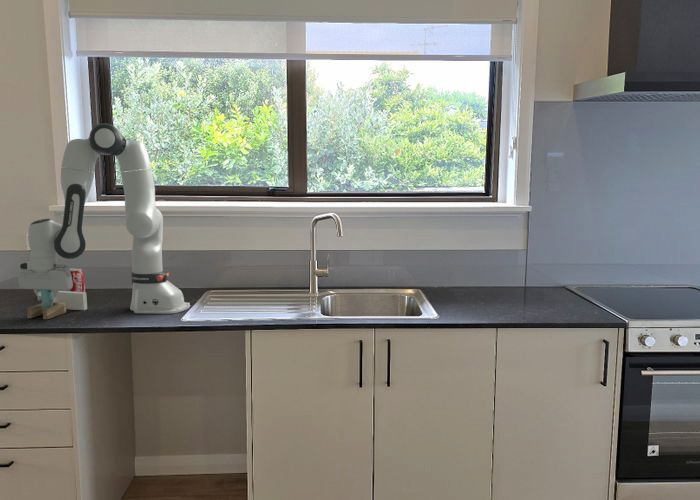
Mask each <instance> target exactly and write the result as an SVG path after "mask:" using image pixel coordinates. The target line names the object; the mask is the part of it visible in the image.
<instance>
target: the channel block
mask: <svg viewBox="0 0 700 500" xmlns="http://www.w3.org/2000/svg"><path fill="white" fill-rule="evenodd" d="M66 313H67V309H66V303H57V302H53V306H51V307H48V308H45V309H43V312H42V302H41V303H38V304H36V305H33V306H30V307H27V308H26V318H28V319H33V318H36V317H39V316H42V318H43V319H42V320H50V319H52V318H56V317H57V316H60V315H63V314H66Z"/></svg>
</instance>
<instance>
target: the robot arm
mask: <svg viewBox="0 0 700 500" xmlns="http://www.w3.org/2000/svg"><path fill="white" fill-rule="evenodd" d="M103 156H114V157H116V159H117V161H118V165H119V170H120V171H119V172H120V175H121V182H122V187H123V194H124V208H125V209H124V210H125V226H126V230H127V231H128V232H129V234H130V235H132V245H131V246H132V248H131V268H132V272H131V284H132V293H131V294H132V295H131V303H130V307H129V310H130V311H132V312H133V313H134V314H164V315H165V314H169V315H170V314H171V315H172V314H173V315H174V314H177V313H181V312H183V311H186V310H188V309H189V308H190V307H191V304H190V302H185V297H184V294H183V292H182V290H181V289H180V288H178V287H176V285H174V284H173V283H171V281H169V280H168V277H169V276H170V275H169V274H170V273H169V272H167V273H166V272H165V271H164V267H163V240H164V239H163V237H164V233H163V232H164V217H163V214H162V212H161V210H160V209H158V208H157V207H156V186H155V182H154V181H155V180H154V175H153V170H152V165H151V164H152V163H151V160H150V157H149V153H148V151H147V148H146V145H145V144H144V143H143V142H141V141H139V140H136V139H132V140H131V139H130V140H128V139H126V137H124V135H123V134H122V133H121V131H120V130H119V128H118V127H116V126H115V125H112V124H110V123H107V122H105V123H103V122H102V123H98V124H97V125H95V126H94V127H92V129H91V130H90V133H89V136H88V138H84V139H83V138H73V139H71V140H69V141H68V143H67V144H66V146H65V149H64V153H63V157H62V160H61V168H60V184H61V189H62V190H61V191H62V193H63V198H64V208H63V209H64V210H63V217H62V224H61V223H59V222H57V221H54V220H53V219H52V218H43V219H42V218H41V219H37V220H34V221H33V222H31V223H30V224H29V225H28V234H27V235H28V236H27V237H28V239H27V240H28V247H29V249H30V253H29V259H28V260H27V261H23V262H20V263H18V264H17V268H18V274H17V280H18V281H17V282H18V286H19V288H20V289H25V290H27V289H28V290H33V292H34V294H35V296H37V301H38V302H42V299H41V289H45V290H51V291H52V293H53V295H52V297H50V302H55V301H56V296H57V294H58V292H59V291H67V290H70V289H72V287H73V281H72V276H71V271H70V268H71V267H69V266H68V265H67V264H59V263H58V256H60V257H62V258H64V259H67V260H68V259H69V260H70V259H71V260H72V259H76V258H78V257H80V256H81V255H82V254H83V253H84V252H85V249H86V240H85V237H84V234H83V221H84V212H85V211H84V210H85V206H86V201H87V198H88V196H89V193H90V192H91V189H92V188H91V187H92V185H93V181H94V177H95V169H96V163H97V160H98V158H99V157H103Z"/></svg>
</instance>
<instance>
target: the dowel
mask: <svg viewBox="0 0 700 500" xmlns="http://www.w3.org/2000/svg"><path fill="white" fill-rule="evenodd" d="M40 292H41V299H42V301H41V303H42V312H43V309H45V308H48V307H51V306H53V302H50V297H52V291H51V290H45V289H41V291H40Z"/></svg>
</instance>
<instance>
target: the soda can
mask: <svg viewBox="0 0 700 500" xmlns="http://www.w3.org/2000/svg"><path fill="white" fill-rule="evenodd" d="M69 268H70V271H71V276H72V281H73V287H72V289H70V290H67V291H71V292H86V285H85V275H84V271H83V268H81V267H69Z"/></svg>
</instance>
